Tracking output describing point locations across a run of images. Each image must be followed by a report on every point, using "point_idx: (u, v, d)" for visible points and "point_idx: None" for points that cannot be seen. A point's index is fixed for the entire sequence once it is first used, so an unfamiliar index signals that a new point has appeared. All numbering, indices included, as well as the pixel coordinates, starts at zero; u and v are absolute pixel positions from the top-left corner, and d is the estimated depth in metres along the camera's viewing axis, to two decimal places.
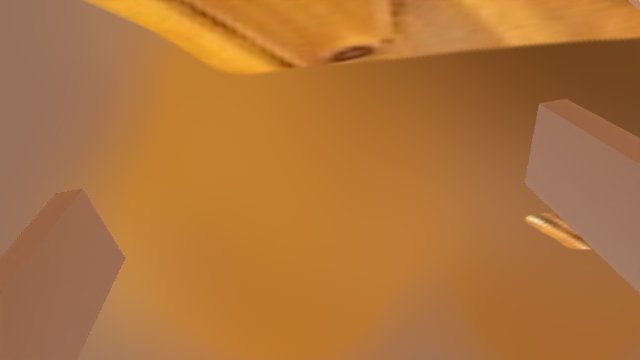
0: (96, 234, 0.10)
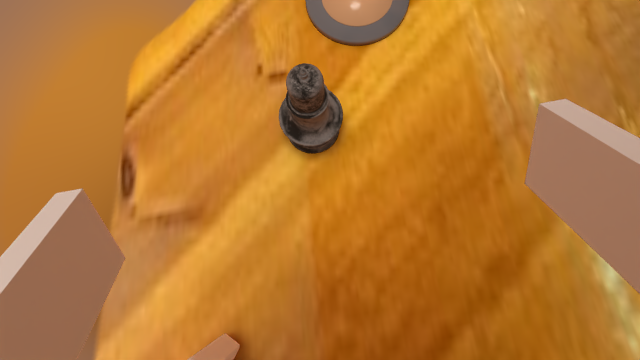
0: (96, 234, 0.10)
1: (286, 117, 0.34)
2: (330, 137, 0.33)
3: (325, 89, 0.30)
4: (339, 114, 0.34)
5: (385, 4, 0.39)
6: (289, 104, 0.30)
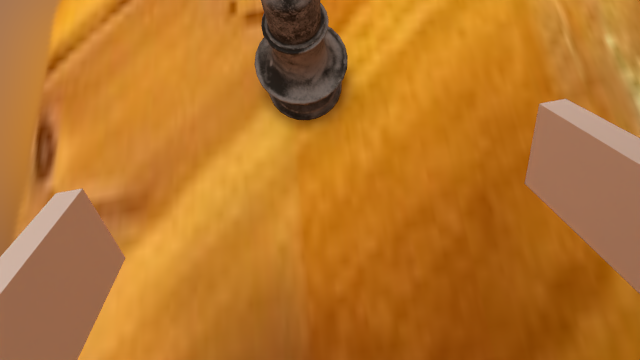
0: (96, 234, 0.10)
1: (265, 62, 0.23)
2: (329, 91, 0.23)
3: (322, 10, 0.20)
4: (342, 59, 0.23)
5: None
6: (266, 32, 0.19)
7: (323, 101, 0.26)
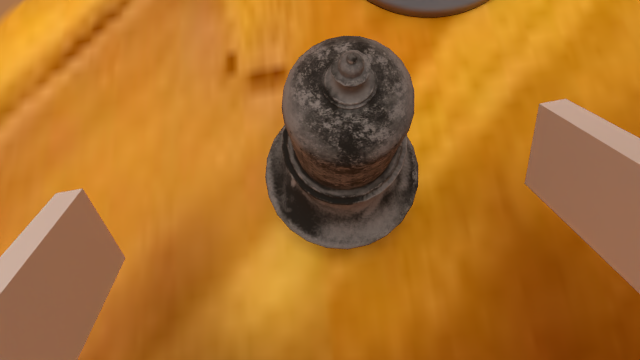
0: (96, 234, 0.10)
1: (284, 178, 0.14)
2: (390, 228, 0.14)
3: None
4: (410, 171, 0.14)
5: None
6: (291, 161, 0.10)
7: None
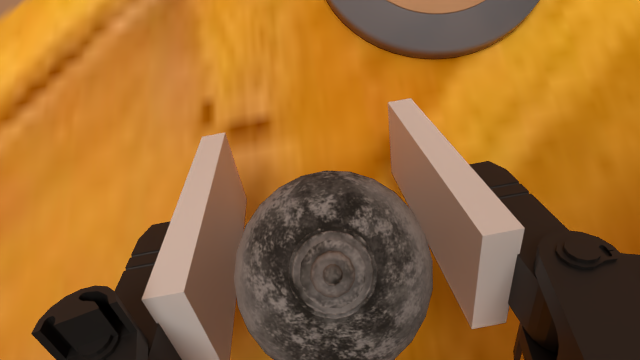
0: (234, 173, 0.12)
1: None
2: None
3: None
4: None
5: None
6: None
7: None
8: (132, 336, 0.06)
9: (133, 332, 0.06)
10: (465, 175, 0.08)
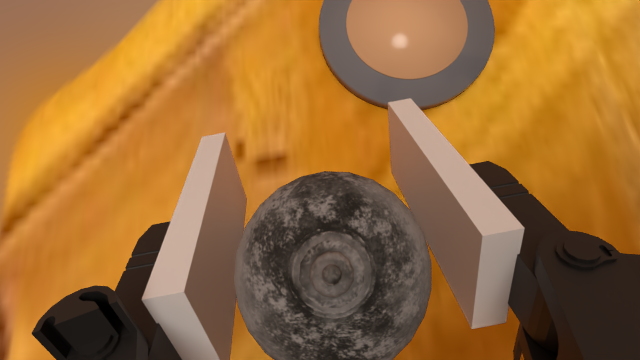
0: (234, 173, 0.12)
1: None
2: None
3: None
4: None
5: (455, 42, 0.23)
6: None
7: None
8: (132, 336, 0.06)
9: (133, 332, 0.06)
10: (465, 175, 0.08)
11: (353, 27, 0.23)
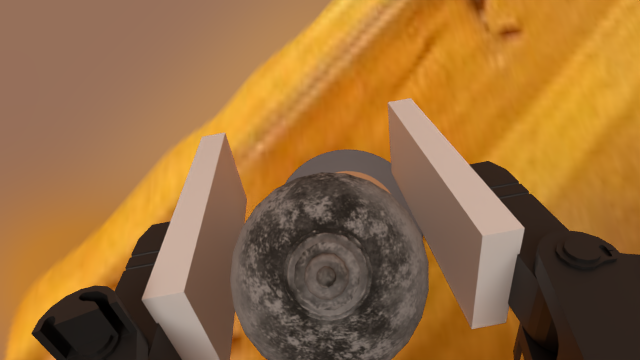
0: (234, 173, 0.12)
1: None
2: None
3: None
4: None
5: None
6: None
7: None
8: (132, 336, 0.06)
9: (133, 332, 0.06)
10: (465, 175, 0.08)
11: None
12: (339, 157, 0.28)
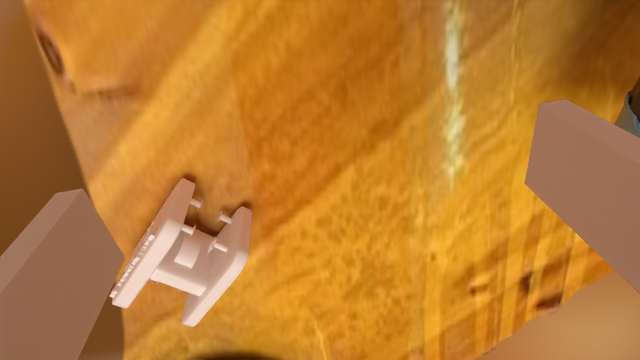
0: (96, 234, 0.10)
1: None
2: None
3: None
4: None
5: None
6: None
7: None
8: None
9: None
10: None
11: None
12: None
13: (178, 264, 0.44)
